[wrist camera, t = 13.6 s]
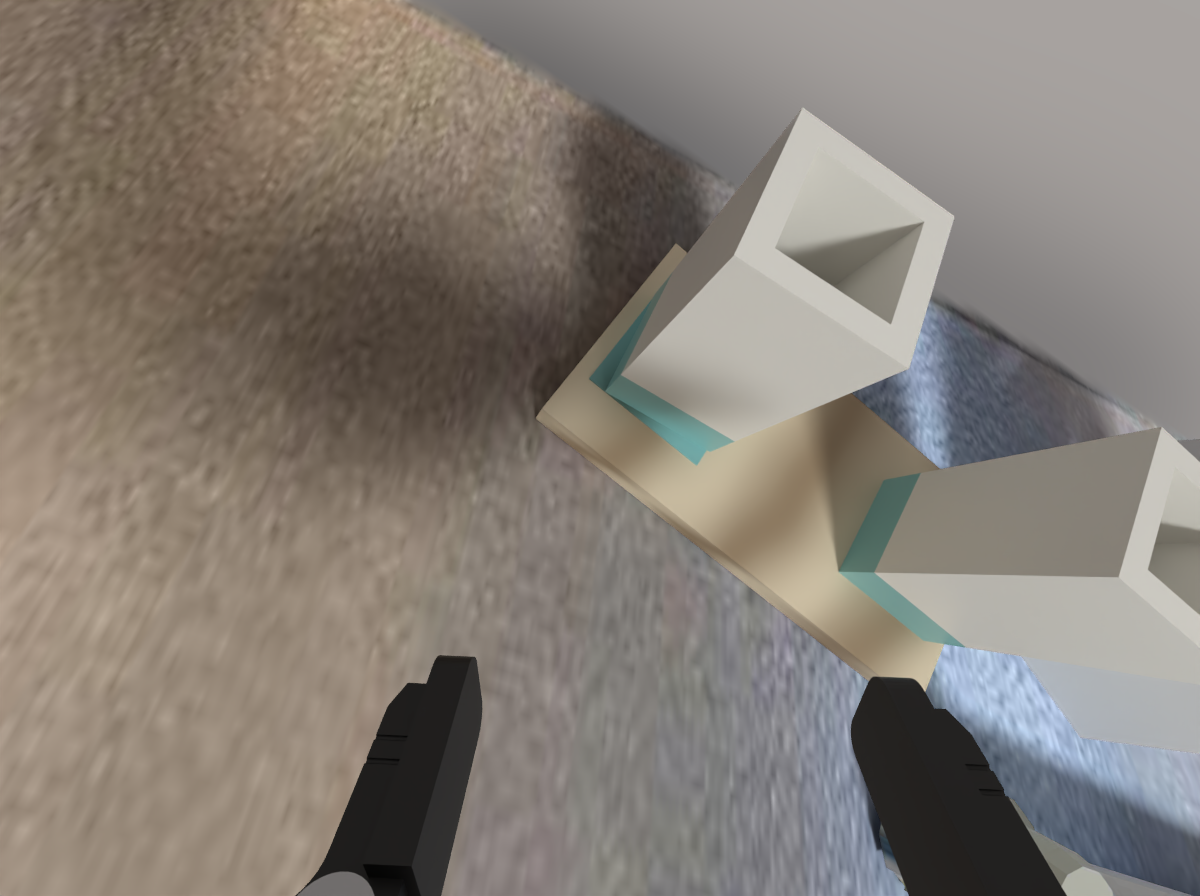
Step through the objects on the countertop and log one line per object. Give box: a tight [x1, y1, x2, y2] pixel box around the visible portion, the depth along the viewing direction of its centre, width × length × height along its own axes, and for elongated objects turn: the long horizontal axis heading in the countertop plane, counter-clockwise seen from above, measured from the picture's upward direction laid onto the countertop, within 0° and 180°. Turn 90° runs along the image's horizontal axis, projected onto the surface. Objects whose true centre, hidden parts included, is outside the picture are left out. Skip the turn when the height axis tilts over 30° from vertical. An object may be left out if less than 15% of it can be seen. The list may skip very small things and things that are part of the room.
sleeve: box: [605, 108, 955, 452], centre depth 18 cm, size 5×5×10 cm
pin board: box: [535, 244, 944, 691], centre depth 22 cm, size 20×10×6 cm, turn 54°
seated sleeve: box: [839, 427, 1200, 685], centre depth 19 cm, size 5×5×10 cm
